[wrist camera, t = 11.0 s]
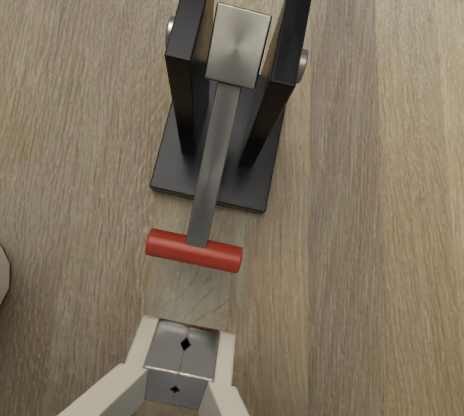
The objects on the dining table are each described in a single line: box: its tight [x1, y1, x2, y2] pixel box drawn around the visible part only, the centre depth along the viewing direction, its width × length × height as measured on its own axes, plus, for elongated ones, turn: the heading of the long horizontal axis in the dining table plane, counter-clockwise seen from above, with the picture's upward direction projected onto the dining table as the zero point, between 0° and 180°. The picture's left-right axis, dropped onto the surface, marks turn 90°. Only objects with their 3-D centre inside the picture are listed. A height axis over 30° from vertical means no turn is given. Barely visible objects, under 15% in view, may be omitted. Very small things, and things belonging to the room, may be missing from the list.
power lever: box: [145, 2, 272, 273], centre depth 16 cm, size 12×5×2 cm
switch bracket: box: [150, 0, 311, 215], centre depth 18 cm, size 10×8×12 cm
